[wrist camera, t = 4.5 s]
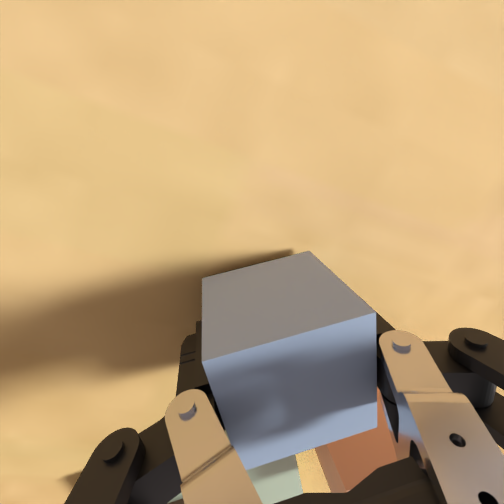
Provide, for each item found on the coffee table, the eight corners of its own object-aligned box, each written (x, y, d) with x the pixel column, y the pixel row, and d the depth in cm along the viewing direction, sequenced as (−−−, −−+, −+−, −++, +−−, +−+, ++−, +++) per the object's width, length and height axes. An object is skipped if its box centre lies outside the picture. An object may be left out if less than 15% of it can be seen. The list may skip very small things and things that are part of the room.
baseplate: (283, 409, 16) (288, 424, 15) (305, 509, 21) (309, 526, 20) (85, 471, 15) (77, 492, 14) (154, 563, 20) (152, 583, 19)
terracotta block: (379, 371, 17) (446, 455, 12) (379, 422, 19) (437, 511, 14) (305, 394, 16) (346, 491, 12) (312, 444, 18) (350, 543, 14)
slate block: (309, 250, 12) (376, 312, 7) (319, 336, 14) (377, 427, 9) (201, 278, 11) (201, 362, 7) (227, 362, 13) (240, 471, 9)
